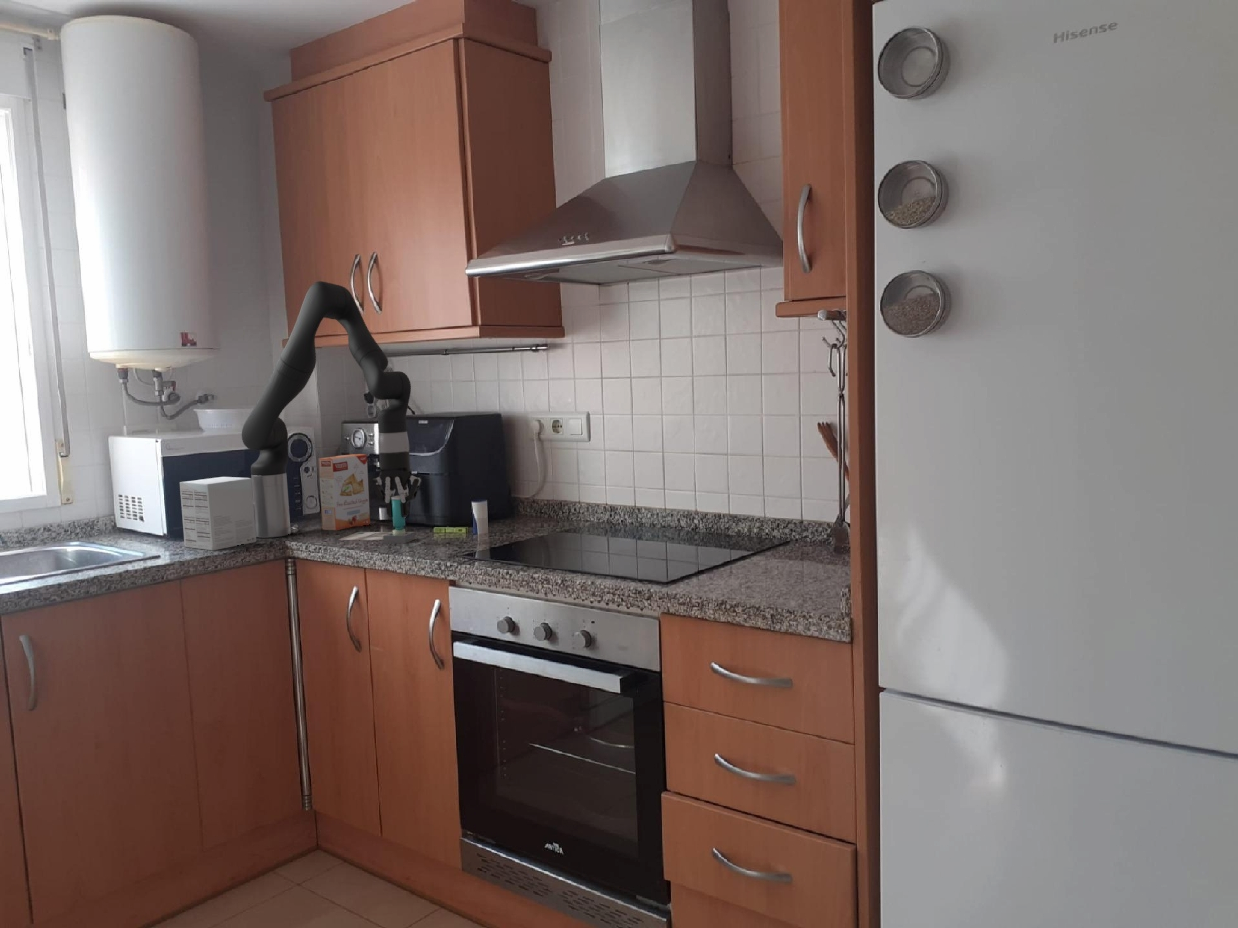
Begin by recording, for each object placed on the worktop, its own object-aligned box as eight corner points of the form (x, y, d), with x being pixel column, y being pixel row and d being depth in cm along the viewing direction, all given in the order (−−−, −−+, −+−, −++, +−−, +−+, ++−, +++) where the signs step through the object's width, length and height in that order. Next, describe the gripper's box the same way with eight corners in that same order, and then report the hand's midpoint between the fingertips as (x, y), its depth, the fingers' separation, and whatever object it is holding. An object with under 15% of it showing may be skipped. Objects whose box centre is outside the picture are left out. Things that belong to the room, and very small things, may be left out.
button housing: (383, 545, 251) (383, 535, 251) (393, 541, 257) (393, 531, 256) (405, 545, 249) (404, 535, 249) (415, 541, 255) (414, 531, 255)
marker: (391, 530, 252) (388, 497, 251) (396, 528, 255) (394, 495, 254) (402, 530, 251) (400, 497, 250) (407, 528, 254) (405, 495, 253)
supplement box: (227, 538, 271) (223, 476, 269) (257, 542, 264) (252, 477, 262) (183, 547, 260) (177, 481, 258) (212, 550, 253) (207, 483, 251)
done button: (390, 542, 252) (390, 530, 251) (396, 540, 255) (395, 528, 255) (402, 542, 251) (401, 530, 251) (407, 540, 254) (407, 528, 254)
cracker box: (337, 532, 275) (332, 458, 273) (321, 531, 277) (316, 458, 275) (372, 524, 287) (367, 453, 285) (356, 523, 290) (351, 453, 288)
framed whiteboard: (334, 542, 258) (333, 539, 258) (357, 534, 271) (357, 531, 271) (390, 542, 255) (390, 539, 255) (411, 534, 267) (411, 531, 267)
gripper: (361, 452, 249) (366, 519, 250) (413, 450, 246) (417, 519, 247) (375, 449, 256) (379, 514, 258) (425, 448, 253) (429, 514, 255)
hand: (398, 516), depth 252 cm, fingers closed on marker, 3 cm apart
